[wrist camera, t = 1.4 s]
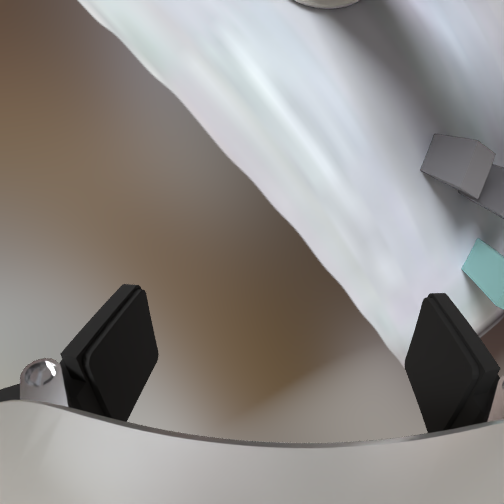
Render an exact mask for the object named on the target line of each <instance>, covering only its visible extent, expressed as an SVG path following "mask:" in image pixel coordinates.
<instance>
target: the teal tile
mask: <svg viewBox="0 0 504 504" xmlns="http://www.w3.org/2000/svg"><path fill="white" fill-rule="evenodd" d="M462 270H463V271H464V272H465V273H466V274H467V275H468V276H469V277H470V278H471V279H472V280H473V281H474V282H475V284H476V285H477V286H478V287H479V288H480V289H481V290H482V291H483V292H484V293H485V294H486V295H487V297H488V298H489V299H490V300H491V301H492V302H493V303H494V304H495V305H496V306H497V307H499V308H501V309H503V310H504V256H502V255H501V254H500V253H499V252H497V251H496V250H495V249H493V248H492V247H491V246H490V245H488V244H487V243H485V242H483V241H482V240H480V239H478V238H477V240H476V242H475V244H474V246H473V248H472V250H471V252H470V254H469V256H468V258H467V260H466V262H465V263H464V265H463V267H462Z"/></svg>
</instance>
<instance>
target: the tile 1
mask: <svg viewBox="0 0 504 504" xmlns="http://www.w3.org/2000/svg"><path fill="white" fill-rule="evenodd" d="M494 157H495V153H494V152H493V151H491V150H490V149H489V148H487V147H486V146H485V145H483V144H482V143H481V142H479V141H478V140H472V139H466V138H460V137H454V136H447V135H439V134H434V137H433V139H432V142H431V144H430V147H429V150H428V152H427V155H426V157H425V160H424V162H423V165H422V167H421V169H420V170H421V171H423V172H424V173H426V174H428V175H430V176H432V177H433V178H435V179H437V180H439V181H441V182H444V183H446V184H448V185H450V186H452V187H454V188H456V189H458V190H461V191H463V192H465V193H467V194H469V195H471V196H473V197H475V198H477V199H478V198H479V195H480V193H481V191H482V188H483V186H484V183H485V181H486V178H487V176H488V173H489V171H490V168H491V165H492V163H493V160H494Z"/></svg>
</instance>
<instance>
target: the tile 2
mask: <svg viewBox="0 0 504 504" xmlns="http://www.w3.org/2000/svg"><path fill="white" fill-rule="evenodd" d="M458 193H460V194H462V195H463V196H465V197H466V198H468V199H470V200H471V201H473V202H475V203H477V204H478V205H480V206H482V207H484V208H486V209H488V210H489V211H491V212H493V213H495V214H496V215H498V216H500V217H502V218H503V219H504V168H503V167H500V166H497V165H493V164H492V165H491V168H490V171H489V173H488V176H487V178H486V181H485V183H484V186H483V188H482V191H481V193H480V195H479V198H478V199H477V198H475V197H473V196H471V195H469V194H467V193H465V192H463V191H461V190H459V192H458Z"/></svg>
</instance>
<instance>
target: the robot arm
mask: <svg viewBox="0 0 504 504" xmlns="http://www.w3.org/2000/svg"><path fill="white" fill-rule="evenodd" d="M294 1H296V2H298V3H301V4H304V5H307V6H311V7H316V8H325V9H333V8H341V7H346V6H349V5H352V4H354V3H356V2H358V1H359V0H294ZM61 356H62V360H61V362H60V363H59V362H57V361H56V360H54V359H52V358H42V359H38V360H35V361H33V362H32V363H30V364H28V365H27V366H26V367H25V368H24V369H23V371H22V373H21V375H20V384H17V385H14V386H11V387H7V388H4V389H1V390H0V504H504V375H503V376H502V377H501V378H500V377H499V376H498V372H499V370H500V367H499V366H498V364H497V363H496V361H495V360H494V358H493V357H492V355H491V354H490V353H489V351H488V349H487V348H486V347H485V345H484V344H483V342H482V341H481V339H480V338H479V337H478V335H477V334H476V332H475V331H474V330H473V328H472V327H471V326H470V324H469V323H468V322H467V320H466V319H465V318H464V316H463V315H462V314H461V312H460V311H459V310H458V308H457V307H456V306H455V305H454V303H453V302H452V301H451V299H450V298H449V297H448V296H447V295H446V294H445V293H430V294H429V295H428V297H427V298H424V300H423V302H422V306H421V310H420V313H419V317H418V321H417V324H416V328H415V331H414V334H413V338H412V341H411V344H410V347H409V350H408V353H407V356H406V359H405V370H406V372H407V375H408V378H409V380H410V383H411V386H412V388H413V391H414V394H415V396H416V399H417V402H418V405H419V408H420V410H421V413H422V416H423V419H424V422H425V425H426V428H427V431H428V433H427V434H420V435H414V436H406V437H399V438H390V439H381V440H369V441H356V442H335V443H279V442H278V443H277V442H259V441H244V440H233V439H223V438H215V437H207V436H199V435H191V434H186V433H179V432H173V431H167V430H162V429H157V428H152V427H147V426H143V425H138V424H134V423H129V422H127V420H128V418H129V416H130V414H131V412H132V410H133V408H134V406H135V404H136V402H137V400H138V398H139V396H140V394H141V392H142V390H143V388H144V386H145V384H146V382H147V380H148V378H149V376H150V374H151V372H152V370H153V368H154V366H155V364H156V363H157V360H158V348H157V345H156V340H155V336H154V331H153V326H152V321H151V316H150V312H149V306H148V301H147V296H146V292H145V290H142V289H141V287H140V286H139V285H128V284H124V285H122V286H121V287H120V288H119V289H118V290H117V291H116V292H115V293H114V294H113V295H112V296H111V297H110V299H109V300H108V301H107V302H106V303H105V304H104V305H103V306H102V307H101V309H99V311H98V312H97V313H96V314H95V315H94V316H93V317H92V318H91V320H90V321H89V322H88V323H87V324H86V325H85V326H84V327H83V328H82V330H81V331H80V332H79V333H78V334H77V335H76V336H75V338H74V339H73V340H72V341H71V342H70V343H69V345H68V346H67V347H66V348H65V349H64V350H63V352H62V353H61Z"/></svg>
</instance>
